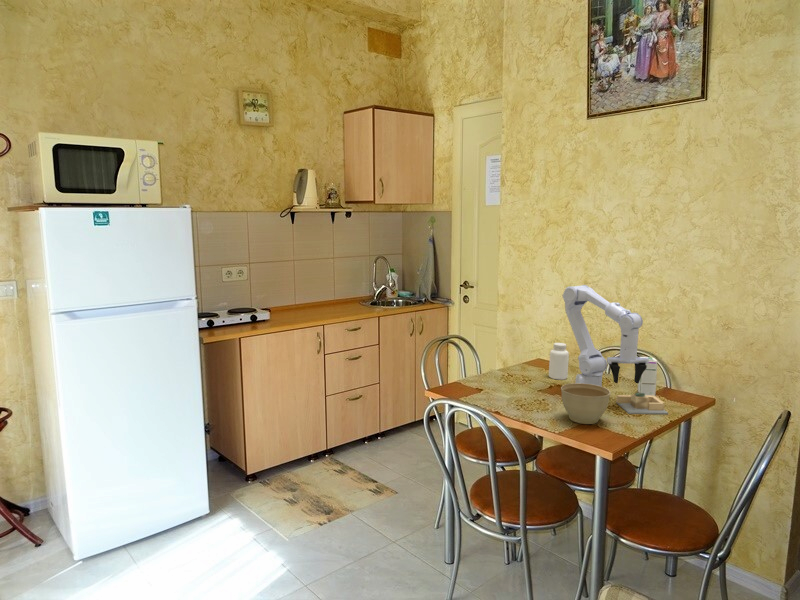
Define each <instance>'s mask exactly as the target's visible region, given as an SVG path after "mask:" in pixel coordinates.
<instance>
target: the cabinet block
mask: <svg viewBox="0 0 800 600" xmlns="http://www.w3.org/2000/svg"><path fill="white" fill-rule="evenodd" d="M630 395H631V405H632V406H633V407H634V408H635V409H648V401H649V398H648V397H647V396H645V394H644V393H638V392H635V393H631V394H630Z"/></svg>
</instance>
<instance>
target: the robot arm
mask: <svg viewBox="0 0 800 600" xmlns="http://www.w3.org/2000/svg"><path fill="white" fill-rule="evenodd" d="M562 300H563V301H564V309H565V314H566V316H567V319H568V321H569V325H570V328H571V330H572V332H573V335H574V338H575V340H576V343H577V345H578V349H579V351H580V353H579V355H578V357H577V359H578V367H579V370H580V372H581V373H577V374H576V375H575V376H576V377H575V383H583V384H592V385H598V386H601V387H603V385H602V384H603V374H604V371H606V370H607V368H608V367H607V366H609V368H610V370H611V373H612V377H613V382H614V383H615V384H619V383H618V382H619V373H620V370H621V366H620V364H631V365H632V364H634V379H633V380H634V383H636V384H638V383H639V380H640V378H641V376H642V374H643V372H644V371H645V369H646V368H647V365H645V364H649V359H648V358H641V357H642V356H638V354H637V353H638V345H639V344H638V343H639V331H640V328H641V327H642V326H643V324H644V323H643V322H644V321H643V317H642V316H641V314H639V312H631V310H630V309H626V307H625V308H624V306H621V303H620V302H616V301H615V302H613V301H612V302H610V301H608V300H607V299H606V298H604V297H603V296H601V295H600V294H598V293H597V292H596V291H595V290H594V288H592V287H589V286H588V285H587V284H581V285H576V286H575V285H574V286H572V285H571V286H567V287H565V289H564V290H563V294H562ZM587 302H589V303H591V304H592V305H594V306H597V307H598V308H599V309H602V310H603V311H604V315H606V316H607V317H609V318H610V319H612V320H613V321H615V323H618V325H619V328H620V335H621V336H620V348H619V356H610V357H609V356H608V357H606V358H605V357H604V356H603V355H602V353H601V351H600V350H598V349H597V348H595V344H594V342H593V340H592V337H591V335H590V332H589V329H588V327H587V324H586V321H585V319H584V316H583V314H582V308H583V307H584V306H585V305H586V304H587Z"/></svg>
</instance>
